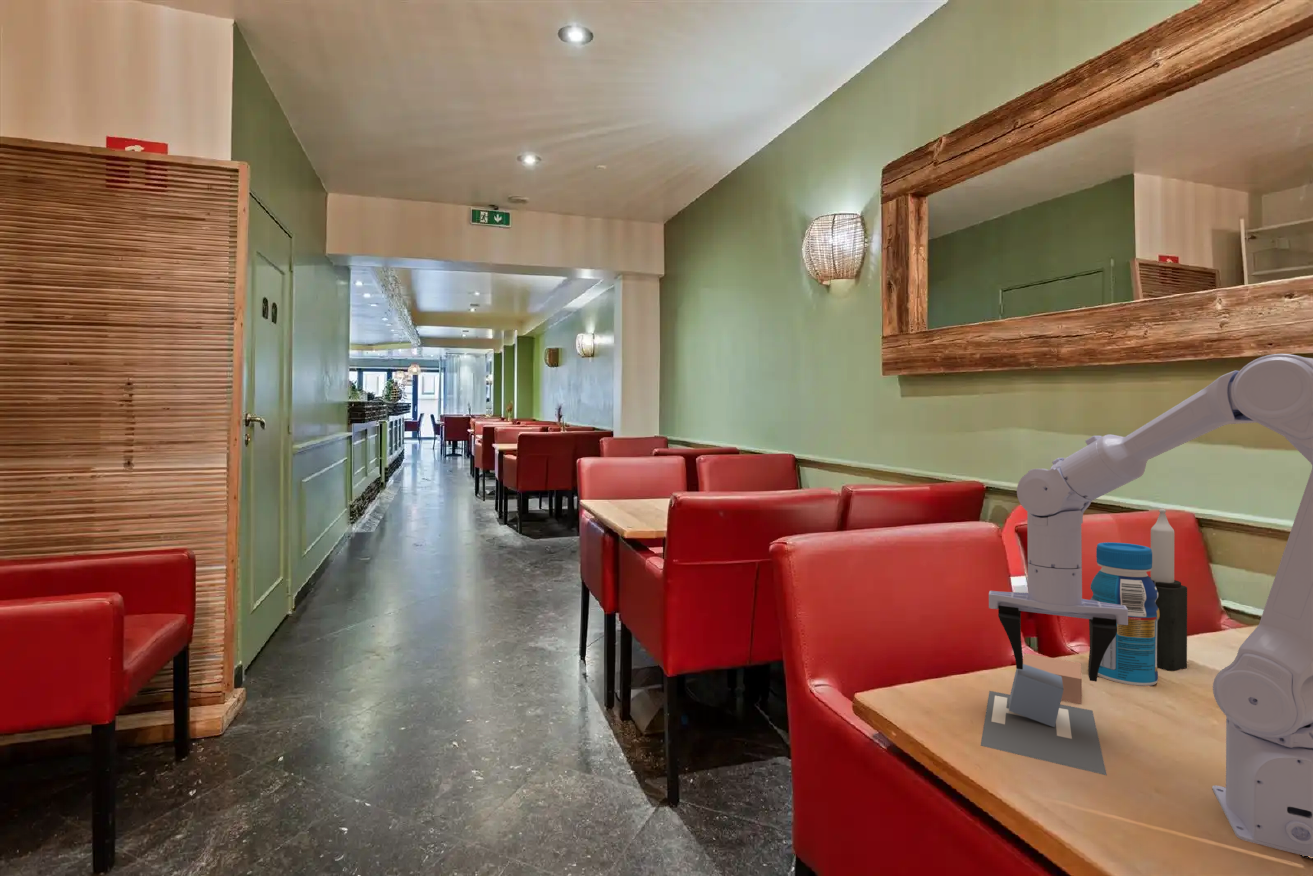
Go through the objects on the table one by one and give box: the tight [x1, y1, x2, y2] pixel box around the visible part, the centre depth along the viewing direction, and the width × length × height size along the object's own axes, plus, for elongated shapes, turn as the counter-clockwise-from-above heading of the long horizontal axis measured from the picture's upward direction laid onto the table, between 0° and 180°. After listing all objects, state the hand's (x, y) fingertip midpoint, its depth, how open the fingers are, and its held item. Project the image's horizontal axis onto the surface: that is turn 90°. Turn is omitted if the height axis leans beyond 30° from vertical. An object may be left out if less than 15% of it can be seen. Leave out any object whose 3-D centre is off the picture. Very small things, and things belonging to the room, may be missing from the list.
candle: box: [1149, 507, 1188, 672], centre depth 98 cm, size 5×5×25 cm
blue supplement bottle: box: [1089, 541, 1160, 687], centre depth 93 cm, size 8×8×20 cm
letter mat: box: [980, 690, 1108, 776], centre depth 76 cm, size 18×12×1 cm, turn 148°
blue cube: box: [1009, 664, 1064, 727], centre depth 79 cm, size 5×5×5 cm
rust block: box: [1023, 653, 1083, 705], centre depth 88 cm, size 7×7×4 cm
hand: (1055, 672), depth 77 cm, fingers open, 7 cm apart
